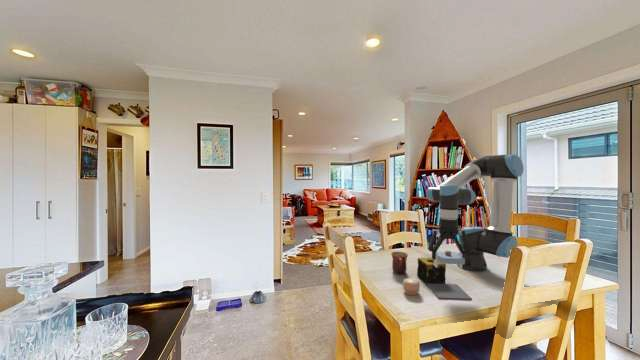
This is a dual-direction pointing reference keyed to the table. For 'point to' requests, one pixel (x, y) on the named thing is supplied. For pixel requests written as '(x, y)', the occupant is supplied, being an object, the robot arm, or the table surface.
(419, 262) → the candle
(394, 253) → the mug
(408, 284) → the bowl
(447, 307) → the table surface
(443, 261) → the lid
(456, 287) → the mat
